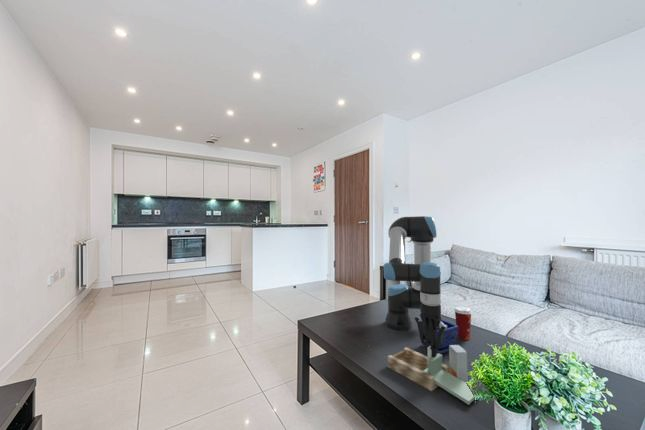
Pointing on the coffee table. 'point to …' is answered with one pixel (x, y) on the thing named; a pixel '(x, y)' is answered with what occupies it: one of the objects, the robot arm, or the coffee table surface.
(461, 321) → the coffee cup
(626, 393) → the coffee table surface
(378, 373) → the coffee table surface
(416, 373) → the oak box
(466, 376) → the skincare box
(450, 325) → the flower pot
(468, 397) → the lid
